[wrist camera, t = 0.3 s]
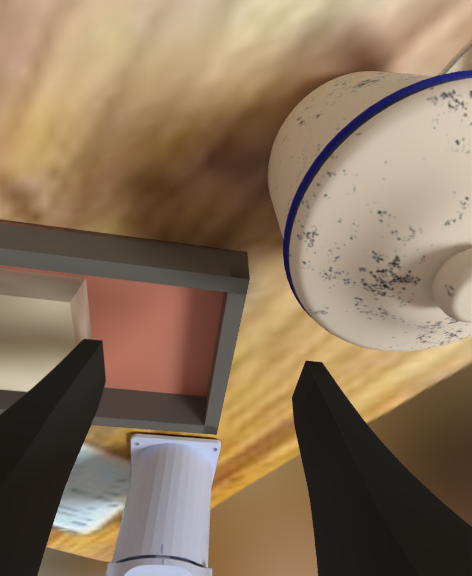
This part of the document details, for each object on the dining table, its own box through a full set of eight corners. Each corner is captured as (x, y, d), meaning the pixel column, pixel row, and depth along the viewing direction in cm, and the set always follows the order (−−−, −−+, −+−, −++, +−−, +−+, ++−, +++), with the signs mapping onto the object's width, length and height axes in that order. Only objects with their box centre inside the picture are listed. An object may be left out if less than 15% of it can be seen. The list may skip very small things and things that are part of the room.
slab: (95, 368, 25) (82, 396, 23) (-6, 359, 25) (-27, 387, 23) (85, 278, 21) (69, 302, 19) (-37, 263, 20) (-67, 287, 18)
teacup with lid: (353, 270, 21) (455, 445, 12) (229, 195, 19) (229, 343, 9) (532, 81, 16) (1006, 118, 6) (394, -68, 13) (867, -424, 3)
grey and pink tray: (217, 401, 28) (216, 434, 26) (-1, 382, 27) (-24, 415, 24) (247, 252, 21) (249, 279, 18) (-57, 212, 19) (-101, 235, 16)
